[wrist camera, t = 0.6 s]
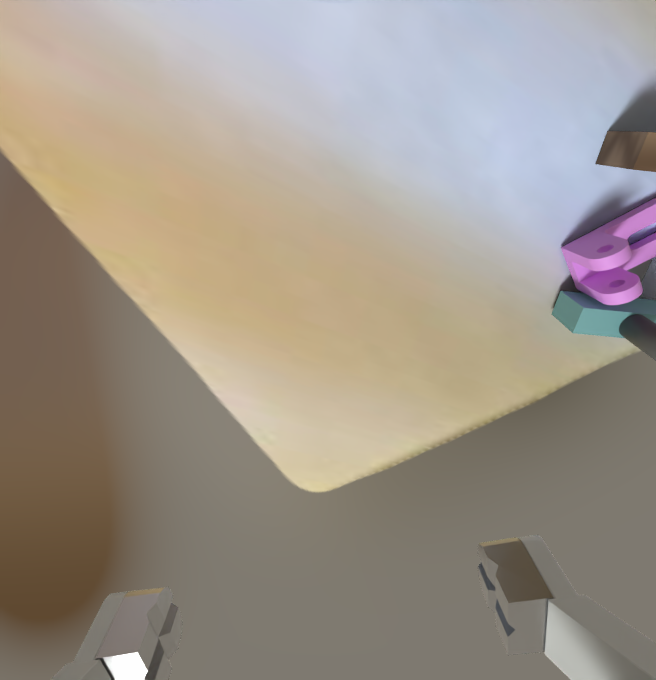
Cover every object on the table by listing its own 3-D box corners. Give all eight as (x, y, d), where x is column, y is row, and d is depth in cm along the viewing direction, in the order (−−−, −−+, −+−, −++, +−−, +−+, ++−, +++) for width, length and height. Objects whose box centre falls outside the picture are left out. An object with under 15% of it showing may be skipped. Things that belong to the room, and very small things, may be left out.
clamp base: (607, 131, 40) (648, 131, 35) (745, 145, 40) (806, 148, 35) (536, 321, 50) (559, 344, 44) (647, 332, 50) (683, 356, 45)
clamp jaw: (560, 290, 47) (625, 338, 36) (661, 300, 47) (754, 351, 37) (551, 314, 48) (610, 366, 38) (649, 323, 49) (735, 378, 38)
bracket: (576, 288, 47) (613, 309, 41) (560, 247, 45) (597, 262, 39) (695, 229, 44) (755, 241, 38) (684, 182, 42) (745, 187, 36)
